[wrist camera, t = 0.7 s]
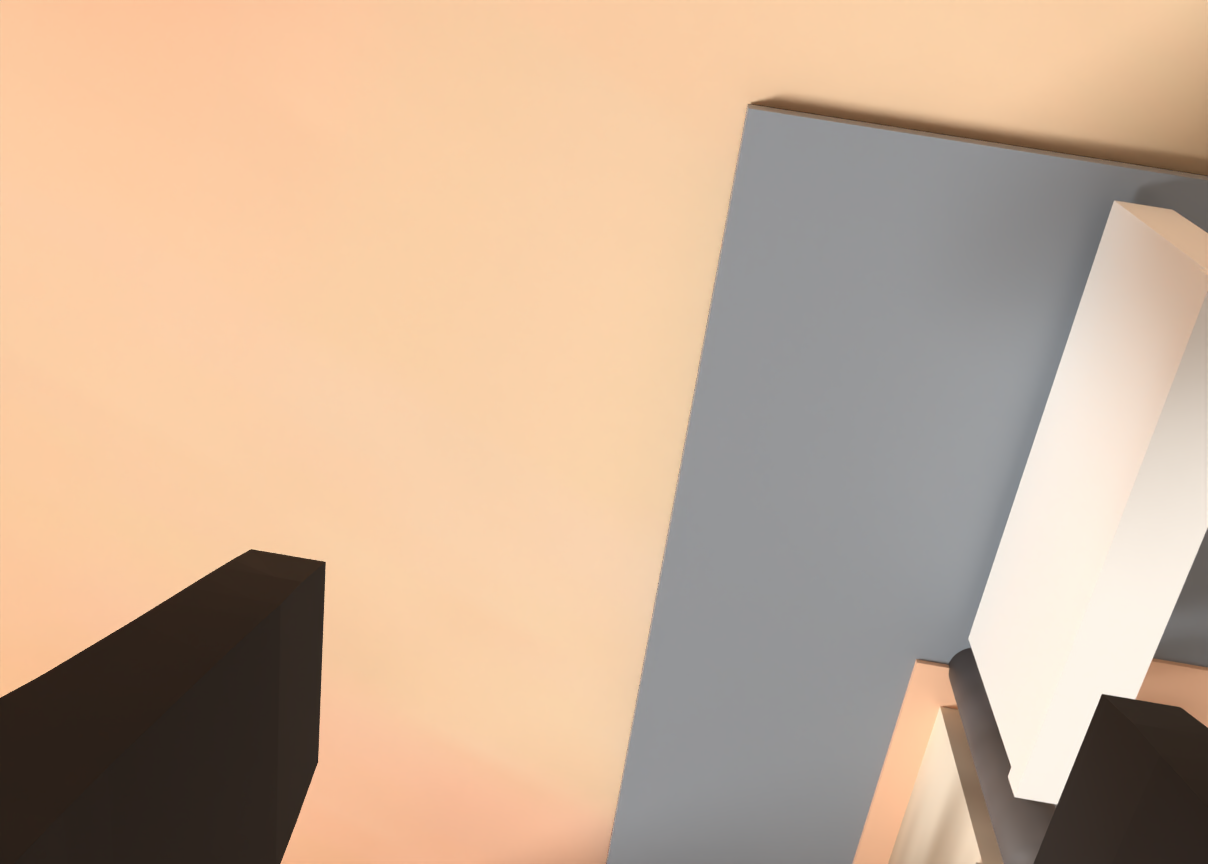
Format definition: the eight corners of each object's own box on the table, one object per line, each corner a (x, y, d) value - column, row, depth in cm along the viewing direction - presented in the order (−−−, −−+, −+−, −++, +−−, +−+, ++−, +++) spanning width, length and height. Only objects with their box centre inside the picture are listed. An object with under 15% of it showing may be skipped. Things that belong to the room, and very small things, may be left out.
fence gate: (1023, 647, 19) (1088, 810, 15) (961, 637, 19) (1014, 797, 15) (1179, 210, 16) (1306, 294, 12) (1106, 199, 16) (1212, 279, 12)
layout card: (1365, 1009, 22) (1379, 1032, 22) (604, 875, 23) (601, 894, 22) (1821, 272, 16) (1854, 283, 15) (748, 103, 16) (748, 109, 16)
